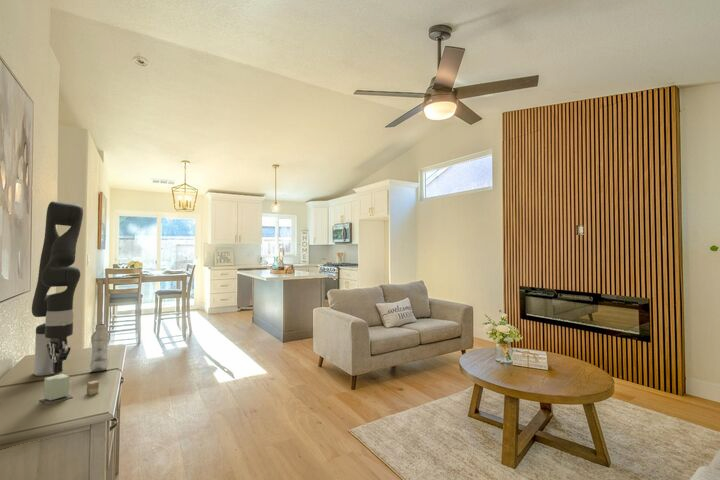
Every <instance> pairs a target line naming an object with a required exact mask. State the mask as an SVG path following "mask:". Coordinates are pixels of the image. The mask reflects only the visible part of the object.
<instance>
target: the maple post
mask: <svg viewBox="0 0 720 480" xmlns="http://www.w3.org/2000/svg"><path fill="white" fill-rule="evenodd" d="M99 384H100V382H99V381H98V380H92V381H88V382H86V394H87V395H89V396H92V395H95V394H99V389H100V388H99V387H100V385H99Z"/></svg>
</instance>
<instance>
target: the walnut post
mask: <svg viewBox="0 0 720 480" xmlns="http://www.w3.org/2000/svg"><path fill="white" fill-rule="evenodd" d="M73 398H74V397H73V396H72V395H70V394H69V395H67V396H64V397H60V398H57V399H53V400H48V399H46V398H44V397H42V398H39V400H38V401H39V402H41V403H43V404H45V405H47V406H49V405H50V406H51V405H52V404H56V403H60V402H62V401H65V400H70V399H73Z"/></svg>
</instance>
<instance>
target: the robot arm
mask: <svg viewBox="0 0 720 480" xmlns="http://www.w3.org/2000/svg"><path fill="white" fill-rule="evenodd" d="M83 217H84V209H83V206H81V205H80V204H76V203H70V202H63V201H62V202H61V201H54V200H53V201H50V203H48V206H47V209H46V217H45V228H44V240H43V244H42V249H41V254H40V260H39V266H38V267H39V268H38V276H37V277H38V278H37V282H36V287H35V290H34V296H33V298H32V303H31V314H32V316H33V317H35V318H43V317H44V318H45V320H44V321H45V322H43V323H42V324H39V325H37V326H36V328H35V338H34V340H35V343H34V344H35V345H34V365H33V376H37V377H38V376H49V375H54V374H57V373H59V374H60V373H61V372H63V368H64V367H63V365H64V361H66V360H67V358H68V356H69V354H70V352H71V346H68V345H69V342H68V337H70V336H72V335H73V333H74V331H73V330H74V296H75V291H76V288H77V286H78V283H79V281H80V279H81V271H80V269H79V268H78V267H77V266H72V265H74V264H75V261H76V248H77V242H78V238H79V235H80V232H81V227H82V222H83ZM57 226H65V227H69V229H68V230H66V231H65V232H64V233H63V234H61V235H60V234H59V233H58V230H57ZM54 287H66V289H64V290H63V291H60V292H55V293H51V294H48V292H49V290H50V289H51V288H54Z"/></svg>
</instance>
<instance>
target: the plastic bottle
mask: <svg viewBox="0 0 720 480" xmlns="http://www.w3.org/2000/svg"><path fill="white" fill-rule="evenodd" d="M94 330H95V331H94V332H93V334H91V336H90V343H91V352H92V353H91V360H90V363H89V369H90V371H91V372H94V373H97V372H102V371H105V370H107V369H108V367H109V363H110V362H109V359H108V347H109V339H110V334H109V333H108V331H107V324H106V323H98V324H95V329H94Z"/></svg>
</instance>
